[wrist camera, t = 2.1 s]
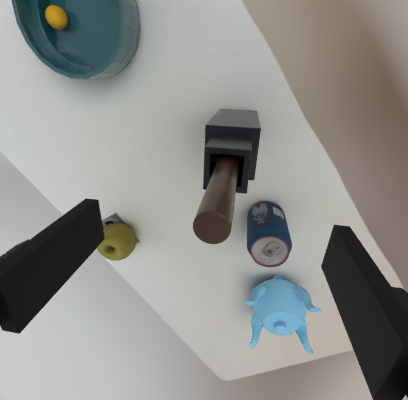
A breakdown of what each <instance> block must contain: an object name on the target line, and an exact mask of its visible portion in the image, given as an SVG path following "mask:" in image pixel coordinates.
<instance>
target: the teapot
mask: <svg viewBox="0 0 408 400" xmlns="http://www.w3.org/2000/svg"><path fill="white" fill-rule="evenodd" d="M245 303H246V304H247V305H250V306H252V308H253V311H254V314H253V317H252V331H253V336H252V340H251V343H250V345H249V347H250V348H253V347H254V346H255V345H256V344H257V342H258V339H259V336H260V332H261V329H262V327H263V326H264V327H265V328H266V329H267V330H268V331H269V332H271V333H273V334H276V335H288V334H291V333H293V332H295V331H296V333H297V334H298V336H299V338H300V341H301V343H302V345H303V346H304V348H305V350H306V351H307V352H308V353H310V354H313V351H312V349H311V347H310V345H309V342H308V338H307V327H306V323H305V320H304V317H305V315H306V310H307V309H308V310H309V311H311V312H318V311H321V309H320V308H317V307H314V306H313V305H312V302H311V298H310V296H309V294H308V292H307V291H306V290H304V289H303V288H301V287H298V286H297V285H296V284H294V283H292V282H290V281H287V280H283V279H282V277H281V276H279V275H276V276H274V277H273V279H270V280H267V281H264V282H262V283H261V284H259V285H258V286H256V287H254V288H253V290H252V291H251V300H250V301H246V302H245Z"/></svg>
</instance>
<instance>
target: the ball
mask: <svg viewBox="0 0 408 400" xmlns="http://www.w3.org/2000/svg"><path fill="white" fill-rule="evenodd" d="M45 17H46V20H47V22H48V23H49V24H50V25H51V26H52V27H53V28H55V29H58V30H62V29H65V28H66V27H67V25H68V17H67V14H66V13H65V11H64V10H63V9H62V8H60V7H59V6H56V5H51V6H49V7H47V9H46V11H45Z"/></svg>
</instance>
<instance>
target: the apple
mask: <svg viewBox="0 0 408 400" xmlns="http://www.w3.org/2000/svg"><path fill="white" fill-rule="evenodd" d="M103 231H104V237H105V239H104V240H103V241H102V243H101V244H100V245H99V246H98V247H97V250H98V251H99V253H100V254H101V255H102V256H104V257H105V258H107V259H110V260H121V259H124V258H126V257H128V256H129V255H130V254H131V253H132V251H133V250H134V247H135V244H136V235H135V232H134V230H133V229H132V228H131V227H130V226H128V225H126V224H123V223H114V224H110V225H108V226H106V227H104V228H103Z"/></svg>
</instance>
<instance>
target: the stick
mask: <svg viewBox="0 0 408 400" xmlns="http://www.w3.org/2000/svg"><path fill="white" fill-rule="evenodd" d="M239 161H240V156H236V155H223V154H220V155H219V158H218V161H217V163H216V166H215V168H214V171H213V173H212V176H211V178H210V181H209V183H208V186H207V189H206V191H205V194H204V196H203V199H202V201H201V204H200V206H199V209H198V211H197V214H196V217H195V219H194V222H193V230H194V233H195V234H196V236H197V237H198V238H199V239H200V240H202V241H203V242H206V243H209V244H218V243H221V242H223V241H225V240H226V239H227V238H228V237H229V235H230V232H231V226H232V218H233V210H234V201H235V193H236V185H237V177H238V169H239Z"/></svg>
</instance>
